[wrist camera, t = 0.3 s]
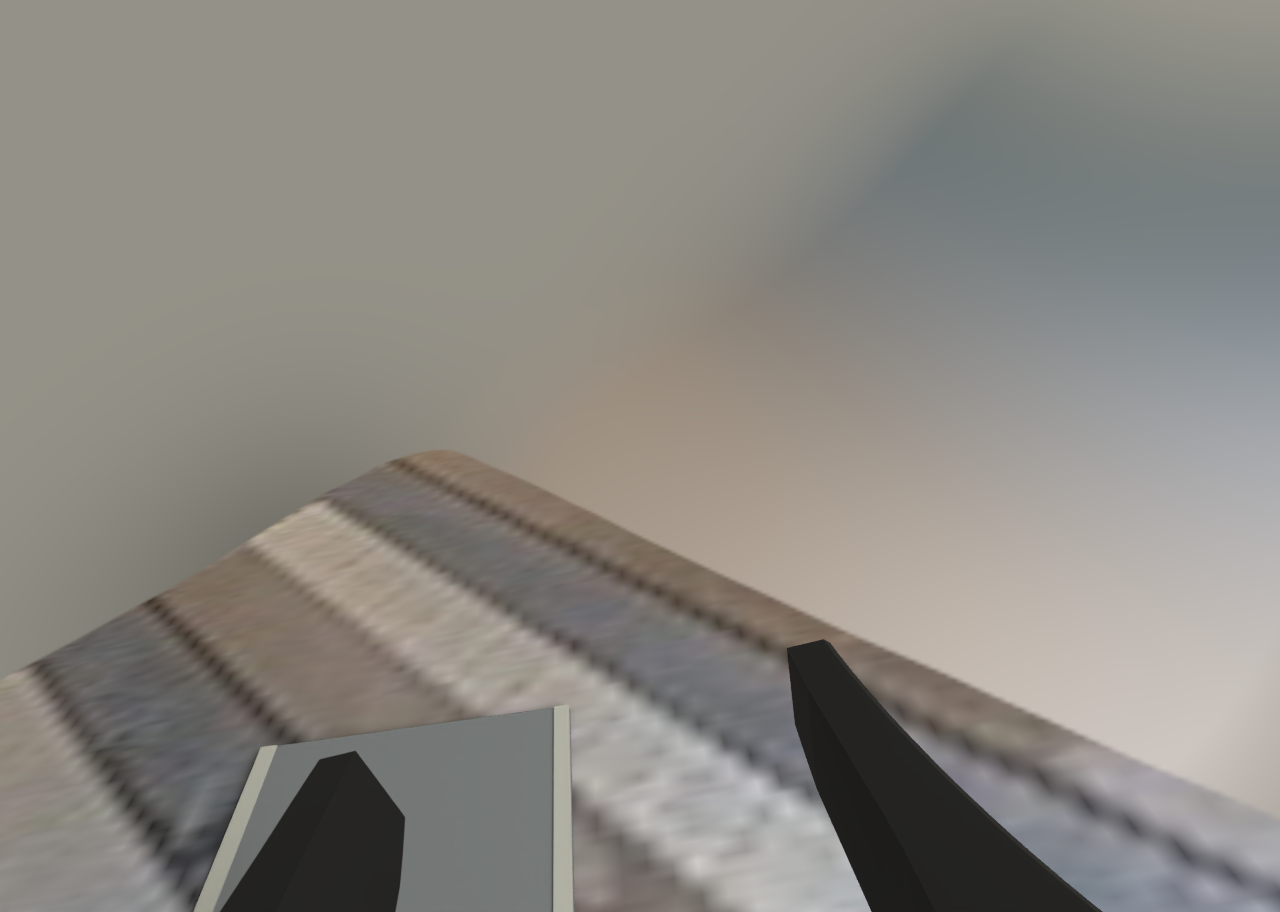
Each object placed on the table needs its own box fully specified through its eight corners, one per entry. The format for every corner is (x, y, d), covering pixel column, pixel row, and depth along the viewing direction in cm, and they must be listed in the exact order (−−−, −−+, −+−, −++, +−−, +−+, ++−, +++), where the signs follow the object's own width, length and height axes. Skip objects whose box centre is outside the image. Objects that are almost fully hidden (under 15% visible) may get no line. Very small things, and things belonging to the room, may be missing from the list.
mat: (576, 1026, 23) (575, 1022, 23) (124, 1101, 22) (117, 1097, 22) (570, 709, 34) (568, 704, 33) (265, 752, 33) (261, 747, 33)
